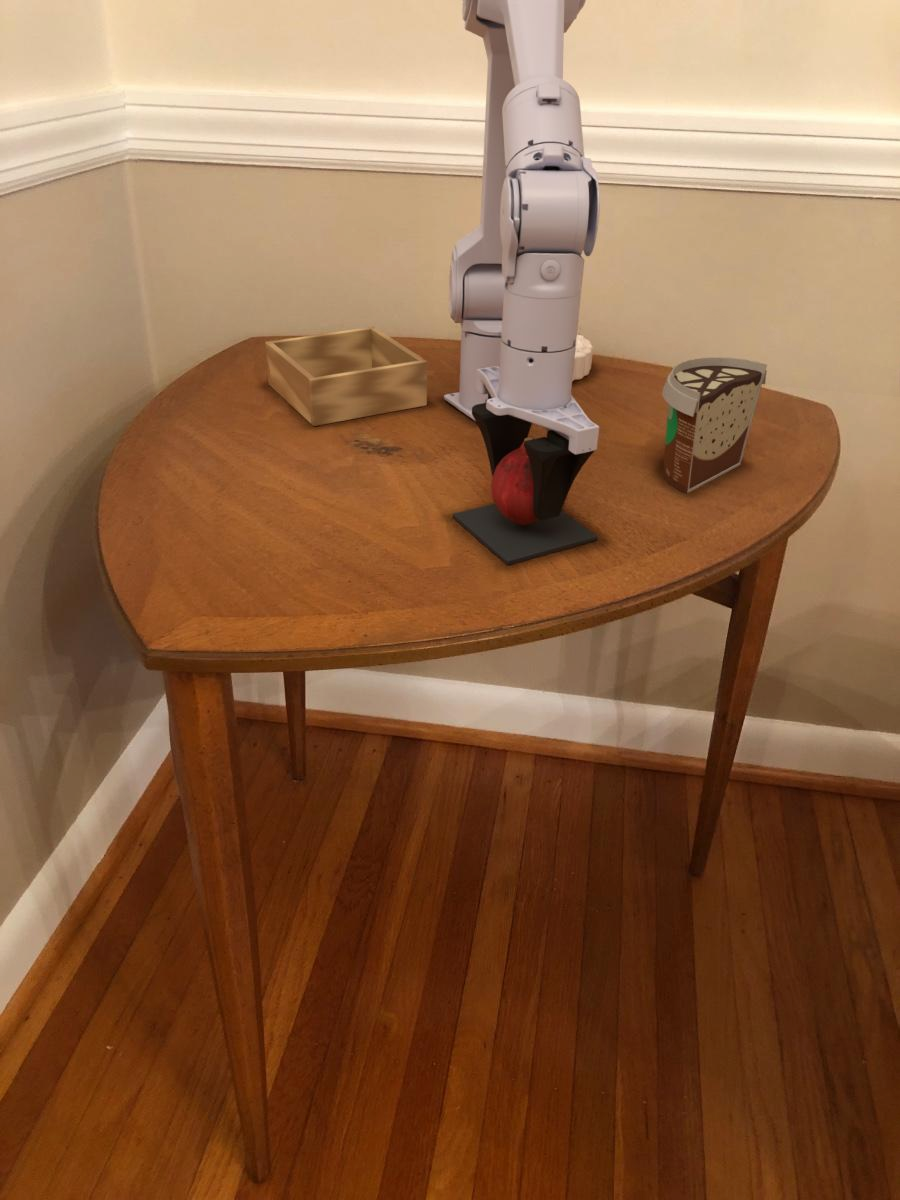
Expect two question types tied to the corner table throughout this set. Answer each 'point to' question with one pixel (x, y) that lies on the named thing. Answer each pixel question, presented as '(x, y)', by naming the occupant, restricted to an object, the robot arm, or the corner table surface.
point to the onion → (514, 487)
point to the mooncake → (582, 358)
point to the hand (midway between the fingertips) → (526, 500)
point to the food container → (708, 417)
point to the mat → (522, 533)
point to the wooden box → (346, 375)
